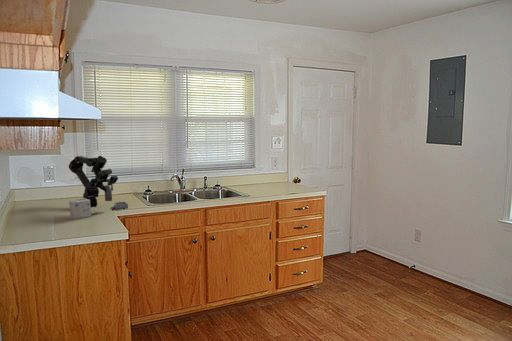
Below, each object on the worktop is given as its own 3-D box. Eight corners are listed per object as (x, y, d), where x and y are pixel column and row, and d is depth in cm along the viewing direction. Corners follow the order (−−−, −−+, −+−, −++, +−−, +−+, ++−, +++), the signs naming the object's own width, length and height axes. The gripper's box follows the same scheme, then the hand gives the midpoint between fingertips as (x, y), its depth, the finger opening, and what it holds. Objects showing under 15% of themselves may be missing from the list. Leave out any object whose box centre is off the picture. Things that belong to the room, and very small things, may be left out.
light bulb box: (86, 214, 259) (85, 198, 257) (91, 216, 254) (90, 199, 253) (69, 217, 251) (68, 200, 249) (75, 219, 246) (73, 202, 245)
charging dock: (115, 209, 272) (114, 204, 272) (113, 206, 280) (113, 202, 279) (128, 208, 276) (127, 203, 275) (126, 205, 283) (126, 201, 283)
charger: (105, 201, 265) (104, 185, 264) (104, 200, 269) (103, 184, 267) (112, 200, 267) (111, 185, 266) (111, 199, 271) (110, 184, 269)
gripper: (90, 166, 260) (100, 185, 255) (115, 163, 274) (126, 181, 269) (84, 177, 266) (94, 196, 261) (110, 174, 280) (120, 191, 275)
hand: (109, 190), depth 266 cm, fingers closed on charger, 4 cm apart
